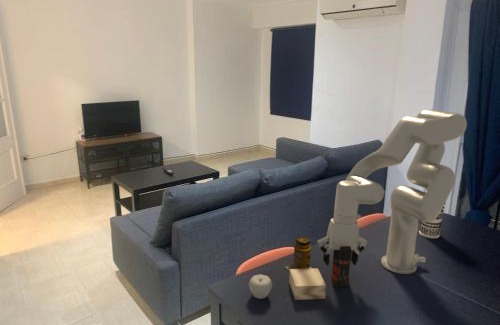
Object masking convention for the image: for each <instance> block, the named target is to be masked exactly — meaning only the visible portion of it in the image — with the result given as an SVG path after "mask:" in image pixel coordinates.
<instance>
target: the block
mask: <svg viewBox="0 0 500 325" xmlns="http://www.w3.org/2000/svg"><path fill="white" fill-rule="evenodd" d="M311 268H312V267H311ZM288 280H289V281H288V283H289V285H290V288H291V292H292V295H293V299H294V300H295V301H296V300H297V301H298V300H300V301H302V300H321V299H324V300H325V299H326V291H327V284H326V282H325V280H324V278H323V276H322V274H321V272H320V270H319V268H318V267H316V268H312V269H290V271H289V278H288Z"/></svg>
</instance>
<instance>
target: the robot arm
mask: <svg viewBox="0 0 500 325" xmlns="http://www.w3.org/2000/svg"><path fill="white" fill-rule="evenodd" d="M467 126H468V122H467V119H466V117H465V116H464V115H463V114H461V113H457V112H449V111H445V110H444V111H443V110H438V109H437V110H436V109H424V110H422V111H421V110H420V112H419V113H417V115H416V116H404V117H402V118H401V119H399V121H398V122H397V124H396V125H395V126H394V128H393V129H392V130H391V132H390V133H389V134H388V136H387V138H385V141H383V143H382V145H381V146H380V148H379V149H377V150H376V151H374V152H372V153H370V154H368V155H367V156H365V157H364V158H362V159H361V160H359V161H358V162H357V163H356V164H355V165H354V167H352V169H351V171H350V172H349V174H348V175H347V177H345V180H341V181H338V183H337V185H336V190H335V200H334V207H333V208H334V209H333V210H334V211H333V218H331V219H330V222H329V224H328V228H327V232H326V236H325V237H322V238H320V239H318V240H316V242H317V244H318V247H319V249H320V250H321V252H322V253H323V256H322V257H323V258H322V259H323V263H325V265H326V266H329V265H330V258H331V255H330V253H331V252H332V251H334V250H340V247H350V246H351V250H352V253H351V264H352V265H354V266H357V262H359V261H358V260H359V256H360V255H361V252H362V251H364V249H365V247H366V246H367V245H368V241H367V240H365V239H364V238H362V237H360V231H359V222H358V220H359V219H361V218H362V215H361V213H358V211H359V205H375V204H379V203H380V202H381V201H382V200H383V199H384V197H385V190H384V188H383V186H382V185H381V184H379V183H378V182H375V181H373V180H371V179H369V178H368V177H369V175H371V174H372V173H373V172H375V171H377V170H379V169H382V168H388V167H394V166H398V165H401V164H402V163H403V162H404V160H405V159H406V157H407V156H408V155H409V153H410V152H411V150H413V149H412V148H413V147H414V146H415V145H416V144H419V146H418V147H417V150H416V153H415V154H414V156H413V159H412V161H411V163H410V165H409V167H408V170H407V172H406V178H407V181H408V182H410V183H411V184H413V185H415V186H418V187H421V188H422V189H423V188H424V189H427V192H426V191H423V190H420V189H417V188H414V187H412V186H409V185H398V186H396V187H395V188H394V189H392V191H391V194H390V198H389V199H390V200H389V201H390V202H389V203H390V221H389V222H390V223H389V230H388V239H387V246H386V254H385V255H383V256H382V257H381V260H380V261H381V265H382V266H383V267H384V268H386V270H389V271H390V272H393V273H395V274H401V275H409V274H413V273H415V272H416V271H417V268H418V266H417V264H418V263H426V262H427V259H426V257H424V256H420V255H419V254H415V251H416V244H417V237H418V236H417V235H418V232H419V221H424V222H431V221H433V220H435V219H436V218H437V217H438V215H439V214H440V212H441V210H442V208H443V206H444V207H445V205H446V204H445V203H446V201H447V200H448V198H449V196H450V194H451V192H452V190H453V188H454V186H455V180H456V177H455V176H456V175H455V172H454V170H453V169H452V168H451V167H448V166H447V165H443V164H441V163H442V159H443V157H444V154H445V152H446V150H445V149H446V146H445V143H447V142H449V141H450V142H451V141H454V140H456V139H458V138H460V137H461V136H463V135H464V133H465V131H466V129H467ZM425 192H426V193H425ZM444 204H445V205H444ZM325 243H326V245H325V246H324V245H323V244H325ZM359 243H360V244H359Z"/></svg>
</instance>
